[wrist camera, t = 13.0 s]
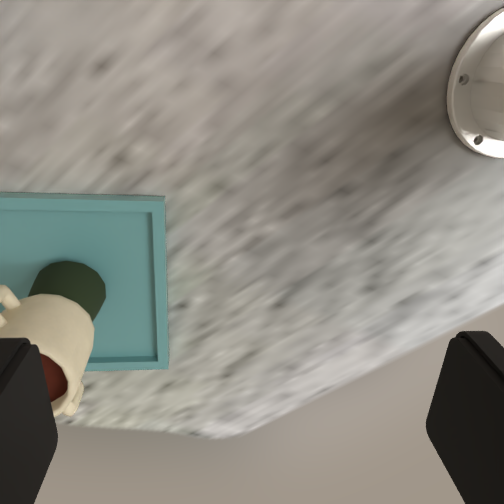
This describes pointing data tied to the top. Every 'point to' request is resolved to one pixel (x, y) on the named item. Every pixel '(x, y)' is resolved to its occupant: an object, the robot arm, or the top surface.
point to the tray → (97, 265)
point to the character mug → (58, 326)
